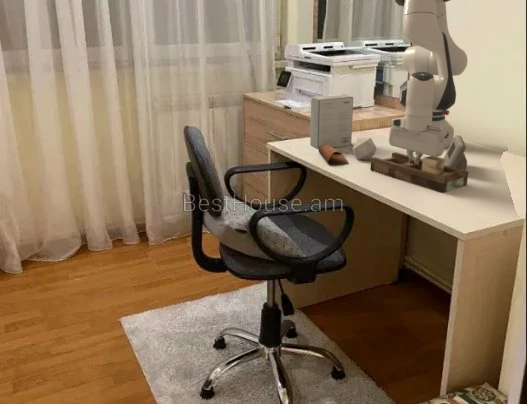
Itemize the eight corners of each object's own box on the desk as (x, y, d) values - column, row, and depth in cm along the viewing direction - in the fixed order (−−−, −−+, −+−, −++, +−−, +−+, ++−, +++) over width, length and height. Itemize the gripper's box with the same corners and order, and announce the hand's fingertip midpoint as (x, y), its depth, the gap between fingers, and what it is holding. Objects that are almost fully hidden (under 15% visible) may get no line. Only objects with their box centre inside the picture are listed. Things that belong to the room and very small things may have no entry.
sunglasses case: (351, 164, 208) (342, 149, 206) (334, 174, 209) (325, 159, 206) (339, 151, 225) (331, 137, 223) (323, 160, 226) (315, 147, 223)
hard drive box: (342, 141, 240) (345, 93, 234) (351, 145, 234) (354, 96, 227) (309, 144, 235) (310, 96, 228) (317, 149, 229) (319, 99, 222)
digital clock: (443, 161, 213) (446, 133, 209) (469, 164, 210) (472, 135, 206) (437, 173, 199) (440, 143, 195) (464, 176, 196) (468, 146, 192)
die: (369, 165, 210) (383, 142, 211) (349, 152, 210) (363, 130, 211) (365, 166, 219) (378, 145, 219) (346, 154, 219) (359, 133, 219)
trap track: (394, 164, 209) (395, 149, 207) (466, 184, 187) (468, 168, 185) (370, 170, 202) (371, 155, 200) (442, 192, 179) (444, 176, 177)
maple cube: (430, 170, 192) (432, 155, 190) (443, 173, 188) (445, 158, 187) (421, 172, 189) (422, 158, 187) (433, 176, 185) (435, 161, 184)
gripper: (450, 127, 183) (445, 169, 188) (399, 117, 198) (396, 155, 203) (438, 130, 179) (433, 172, 184) (387, 119, 195) (384, 158, 199)
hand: (413, 163), depth 194 cm, fingers closed
